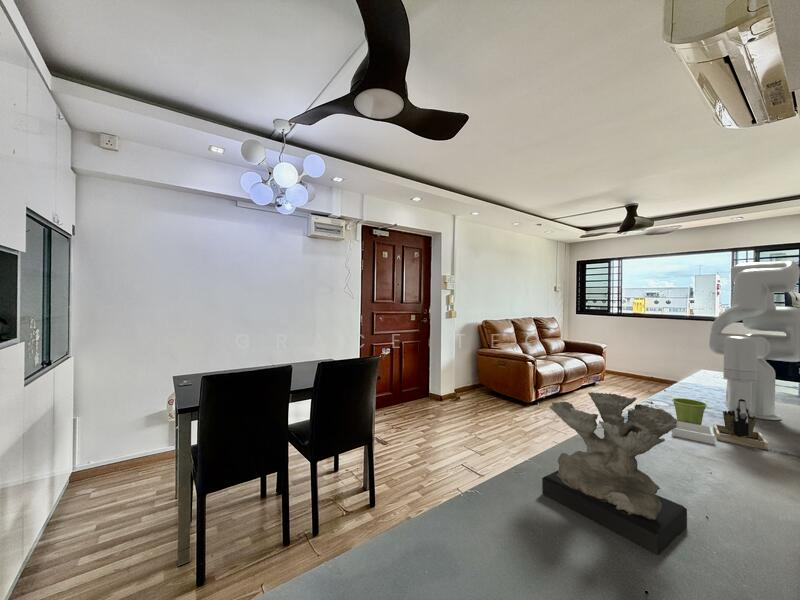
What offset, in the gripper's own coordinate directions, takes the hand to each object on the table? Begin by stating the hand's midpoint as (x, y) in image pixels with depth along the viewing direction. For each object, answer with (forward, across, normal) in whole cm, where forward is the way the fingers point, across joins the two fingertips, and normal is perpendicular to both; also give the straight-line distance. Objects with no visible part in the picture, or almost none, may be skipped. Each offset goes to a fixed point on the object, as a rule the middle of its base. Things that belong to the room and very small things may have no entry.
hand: (738, 430), depth 108 cm
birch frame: (+3, 0, 0) cm, 3 cm away
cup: (+3, 0, 0) cm, 3 cm away
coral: (+3, +67, -28) cm, 72 cm away
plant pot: (+3, -4, -12) cm, 13 cm away
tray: (+3, +6, -12) cm, 13 cm away
